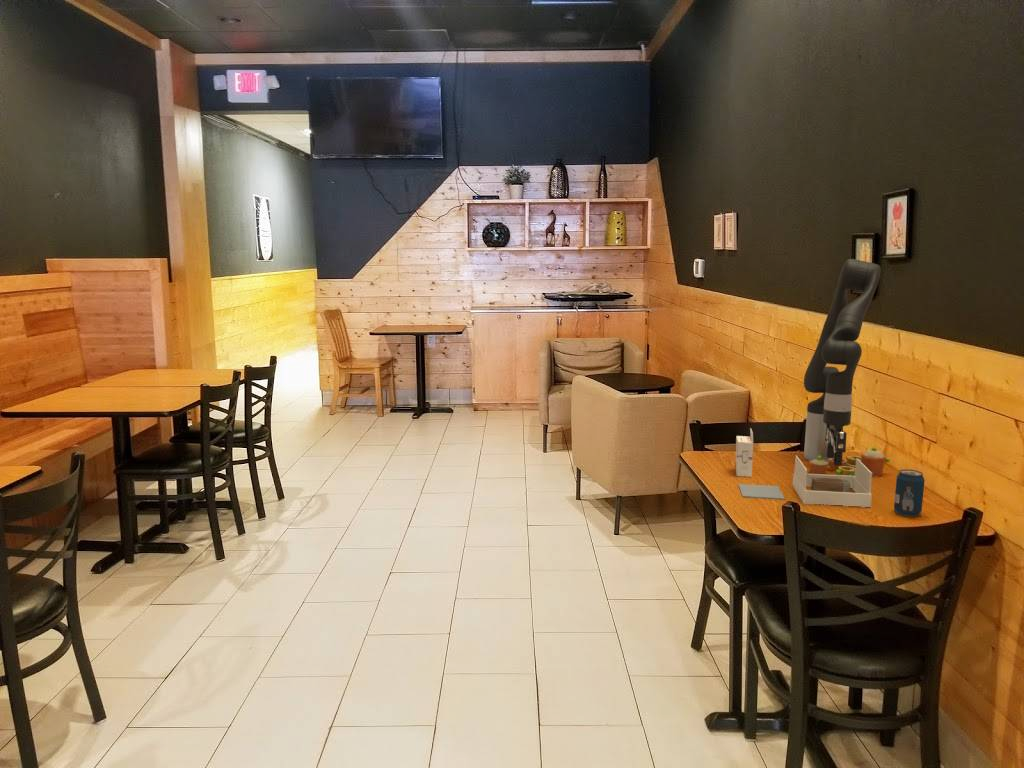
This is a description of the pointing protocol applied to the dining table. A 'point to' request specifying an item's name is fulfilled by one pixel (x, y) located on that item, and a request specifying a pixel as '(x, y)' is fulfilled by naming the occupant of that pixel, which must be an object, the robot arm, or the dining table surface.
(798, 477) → the carton
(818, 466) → the toy tea set
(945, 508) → the dining table surface
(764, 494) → the mat
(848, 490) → the box
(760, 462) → the dining table surface
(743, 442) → the ink cartridge box
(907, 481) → the soda can
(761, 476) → the dining table surface
